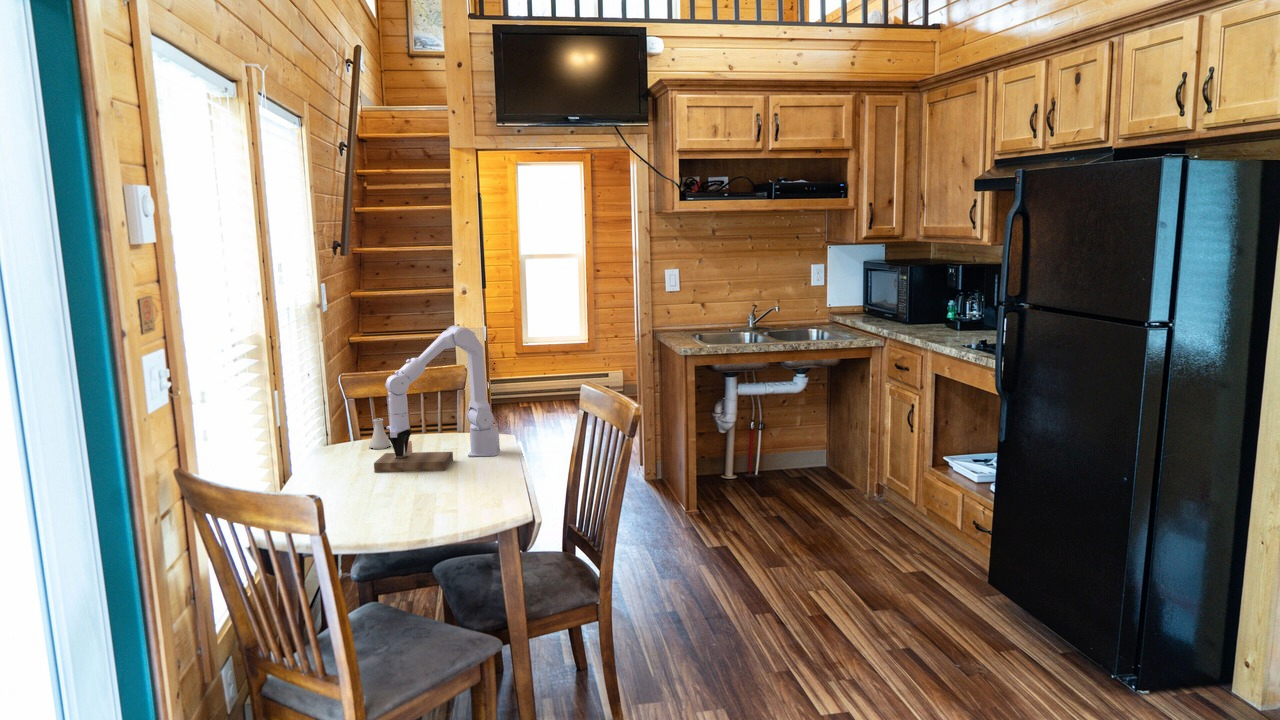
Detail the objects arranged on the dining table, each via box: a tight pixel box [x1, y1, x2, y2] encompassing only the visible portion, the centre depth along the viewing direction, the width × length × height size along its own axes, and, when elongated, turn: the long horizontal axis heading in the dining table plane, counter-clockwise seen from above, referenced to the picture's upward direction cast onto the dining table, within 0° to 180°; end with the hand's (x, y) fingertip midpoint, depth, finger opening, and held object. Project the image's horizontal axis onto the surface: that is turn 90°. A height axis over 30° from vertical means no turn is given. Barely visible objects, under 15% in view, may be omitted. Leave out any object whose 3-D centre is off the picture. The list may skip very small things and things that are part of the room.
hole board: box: [373, 451, 454, 473], centre depth 267 cm, size 22×12×3 cm, turn 90°
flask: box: [368, 418, 392, 450], centre depth 292 cm, size 7×7×10 cm
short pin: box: [406, 440, 413, 453], centre depth 282 cm, size 2×2×4 cm
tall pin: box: [398, 443, 406, 459], centre depth 267 cm, size 2×2×8 cm
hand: (401, 454), depth 267 cm, fingers open, 4 cm apart
